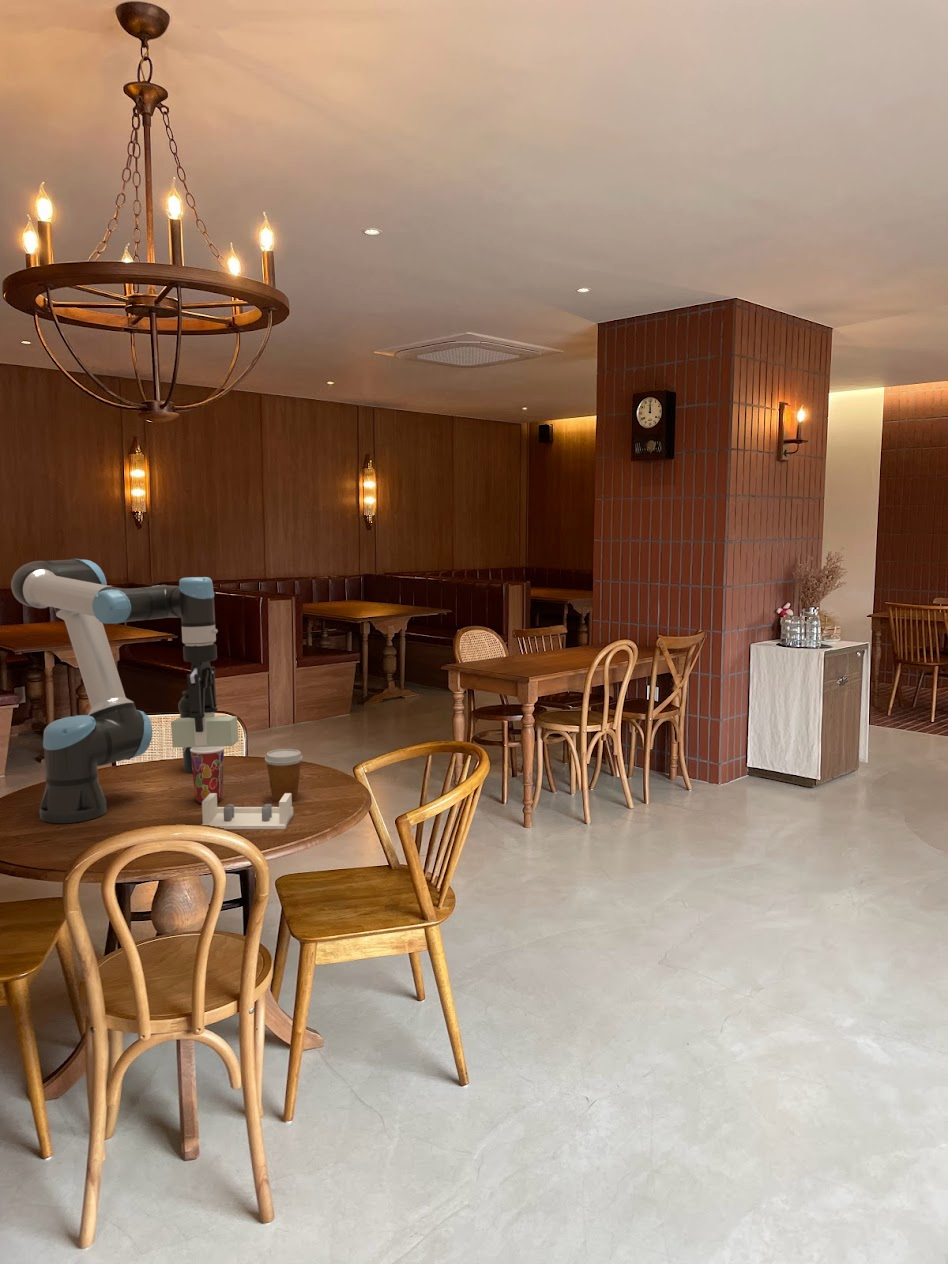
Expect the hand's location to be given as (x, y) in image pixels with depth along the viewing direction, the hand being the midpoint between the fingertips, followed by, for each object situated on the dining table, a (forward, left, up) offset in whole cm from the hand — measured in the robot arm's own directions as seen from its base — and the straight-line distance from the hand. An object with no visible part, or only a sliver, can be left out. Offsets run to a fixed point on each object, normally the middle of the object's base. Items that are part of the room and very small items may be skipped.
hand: (205, 742), depth 223 cm
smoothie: (-5, +18, -20) cm, 28 cm away
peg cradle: (+9, +1, -20) cm, 22 cm away
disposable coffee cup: (+14, +20, -20) cm, 32 cm away
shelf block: (0, 0, -1) cm, 1 cm away
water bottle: (-16, +48, -20) cm, 55 cm away
